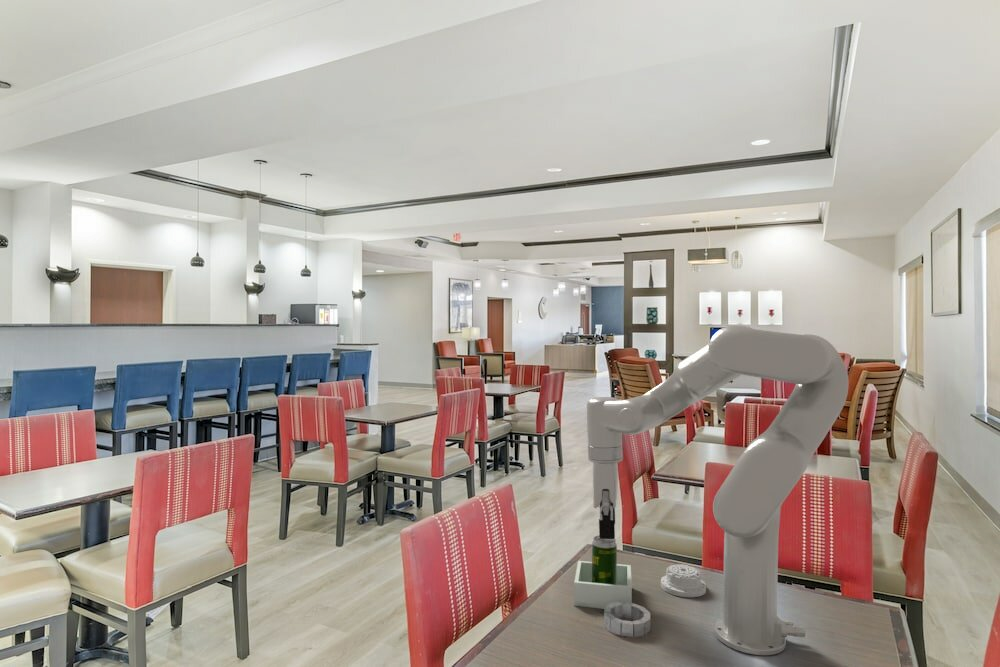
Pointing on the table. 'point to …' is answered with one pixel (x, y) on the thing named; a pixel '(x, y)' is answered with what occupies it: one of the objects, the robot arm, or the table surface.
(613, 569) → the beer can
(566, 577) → the table surface
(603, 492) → the robot arm
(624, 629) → the collar
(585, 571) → the bin
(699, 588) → the mechanical component
